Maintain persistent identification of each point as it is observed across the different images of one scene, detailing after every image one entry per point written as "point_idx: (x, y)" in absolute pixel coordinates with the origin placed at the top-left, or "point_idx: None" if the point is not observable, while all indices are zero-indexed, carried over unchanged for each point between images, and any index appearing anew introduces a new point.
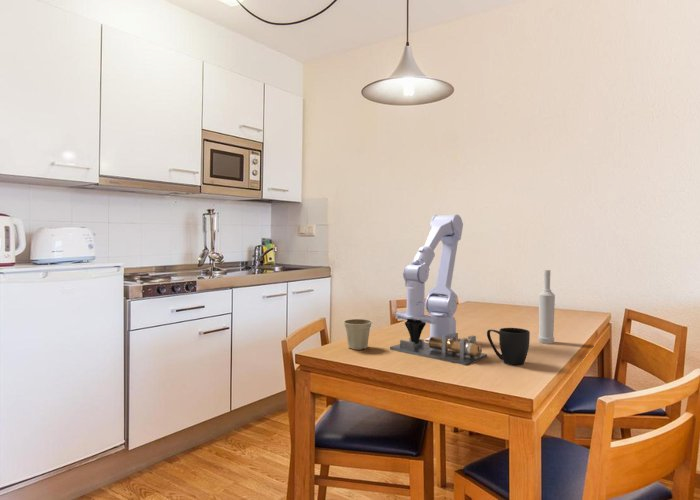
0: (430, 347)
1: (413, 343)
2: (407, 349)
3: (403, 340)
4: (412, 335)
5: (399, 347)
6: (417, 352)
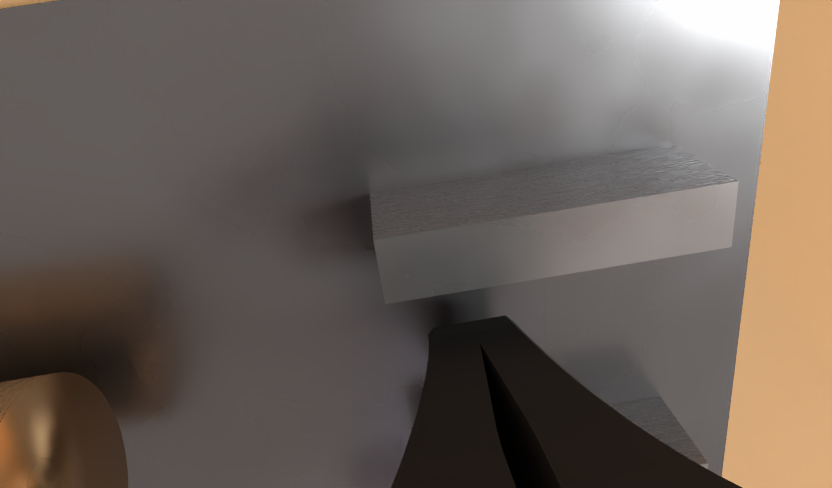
0: (59, 376)
1: (377, 253)
2: (369, 35)
3: (669, 230)
4: (517, 418)
5: (602, 30)
6: (31, 7)
